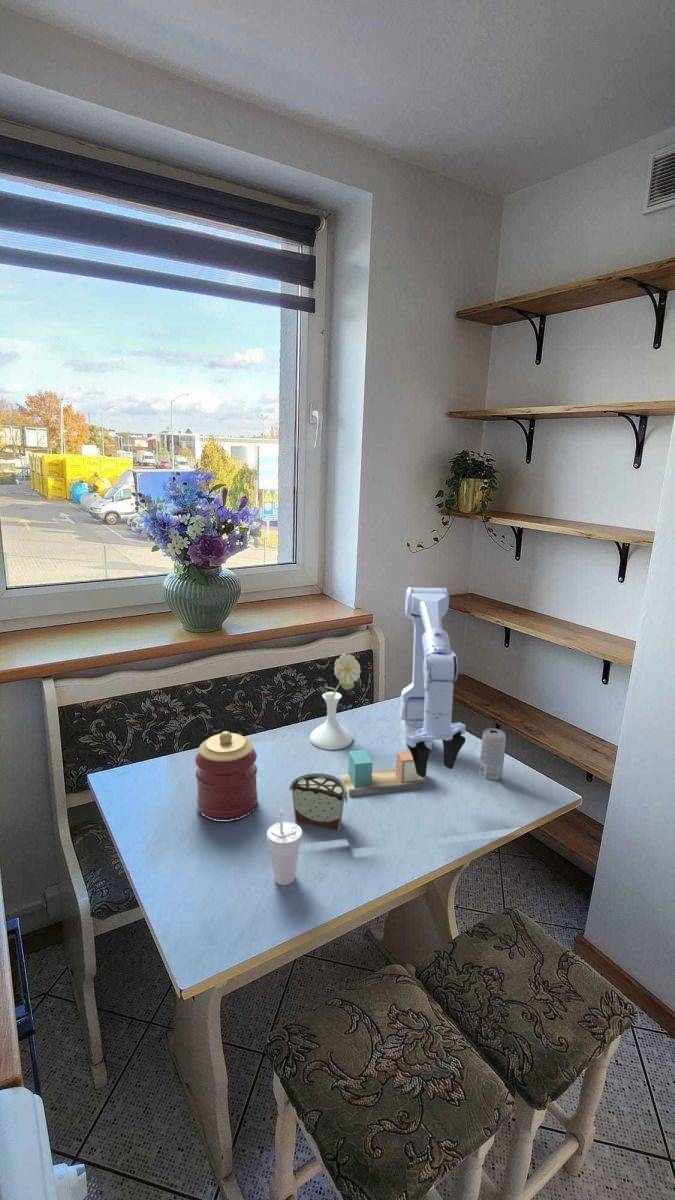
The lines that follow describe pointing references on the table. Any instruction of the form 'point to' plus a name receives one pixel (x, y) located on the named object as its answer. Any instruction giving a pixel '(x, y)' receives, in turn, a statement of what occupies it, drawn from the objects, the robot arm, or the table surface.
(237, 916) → the table surface
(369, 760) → the teal box
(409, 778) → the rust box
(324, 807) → the food container
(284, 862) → the smoothie
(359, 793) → the board
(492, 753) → the energy drink
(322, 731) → the flower in vase
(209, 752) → the canister
